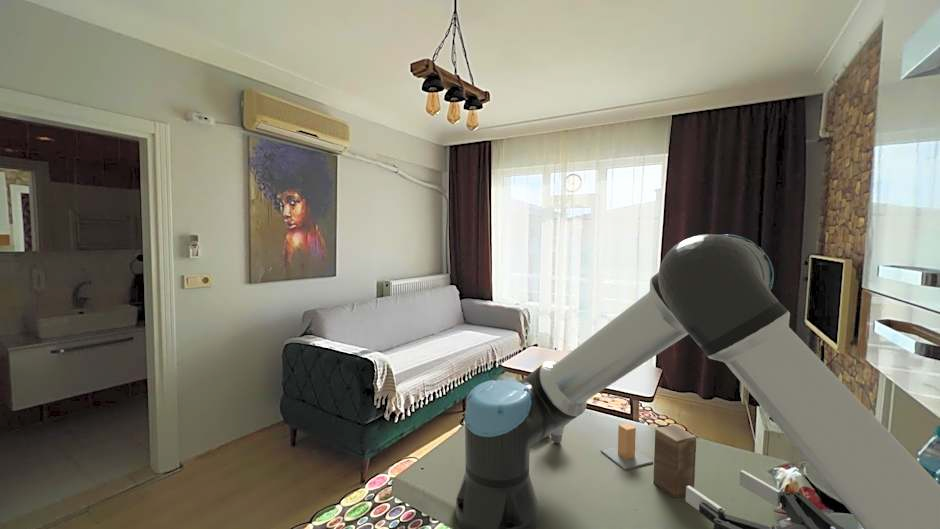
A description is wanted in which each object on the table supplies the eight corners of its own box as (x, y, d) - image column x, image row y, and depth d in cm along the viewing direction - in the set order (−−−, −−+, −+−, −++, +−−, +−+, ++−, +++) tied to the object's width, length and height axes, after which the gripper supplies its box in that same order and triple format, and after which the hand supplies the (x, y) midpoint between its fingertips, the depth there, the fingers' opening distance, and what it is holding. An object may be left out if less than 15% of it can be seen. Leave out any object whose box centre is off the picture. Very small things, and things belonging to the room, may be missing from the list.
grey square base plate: (624, 470, 85) (625, 437, 84) (600, 451, 92) (601, 421, 92) (652, 463, 87) (654, 431, 87) (627, 445, 95) (628, 416, 94)
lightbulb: (567, 437, 99) (568, 395, 98) (570, 450, 93) (571, 405, 92) (543, 436, 99) (543, 394, 99) (545, 448, 93) (546, 404, 93)
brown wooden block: (674, 498, 75) (676, 441, 75) (653, 482, 80) (655, 428, 80) (693, 492, 77) (696, 436, 77) (672, 477, 82) (674, 424, 81)
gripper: (804, 642, 46) (662, 521, 66) (917, 580, 55) (760, 490, 75) (808, 583, 46) (663, 479, 66) (921, 530, 54) (762, 452, 74)
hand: (714, 484), depth 70 cm, fingers open, 13 cm apart
